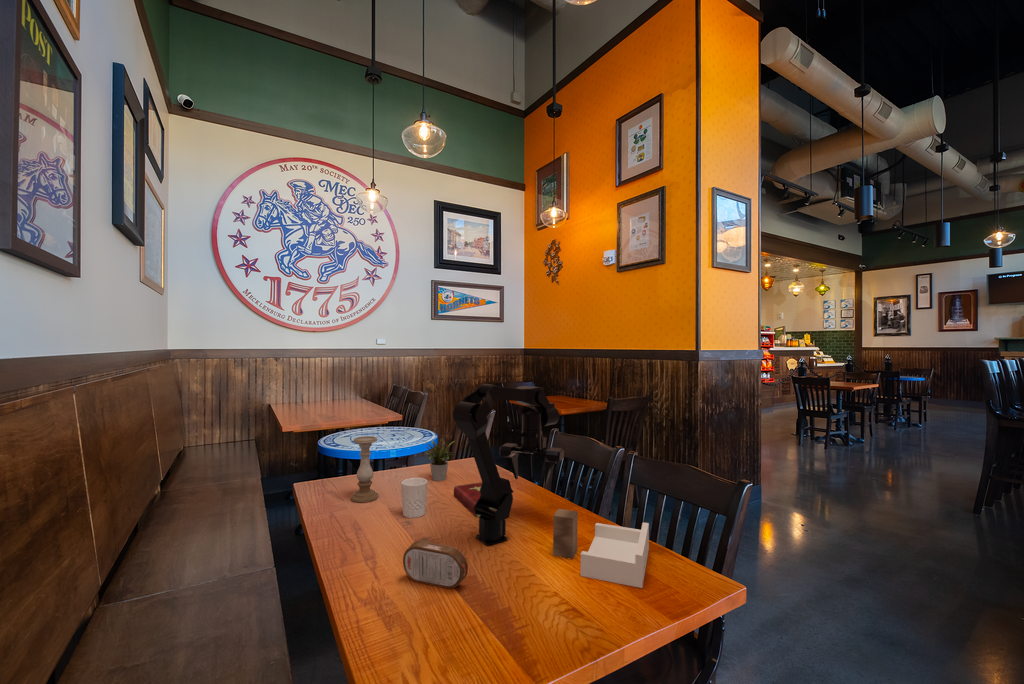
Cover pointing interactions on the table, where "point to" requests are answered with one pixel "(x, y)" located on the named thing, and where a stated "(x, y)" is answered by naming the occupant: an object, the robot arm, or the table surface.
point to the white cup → (414, 497)
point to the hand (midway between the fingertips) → (531, 480)
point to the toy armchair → (617, 555)
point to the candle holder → (364, 472)
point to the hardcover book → (469, 495)
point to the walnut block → (565, 533)
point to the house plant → (439, 461)
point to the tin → (435, 564)
